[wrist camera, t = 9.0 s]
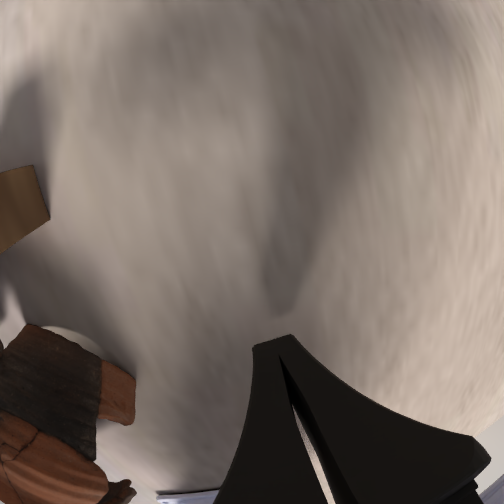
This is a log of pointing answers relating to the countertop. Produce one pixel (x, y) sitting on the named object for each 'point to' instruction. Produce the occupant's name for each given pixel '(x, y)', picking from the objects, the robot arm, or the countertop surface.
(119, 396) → the brown piece
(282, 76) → the countertop surface
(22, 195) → the wooden corner bracket
